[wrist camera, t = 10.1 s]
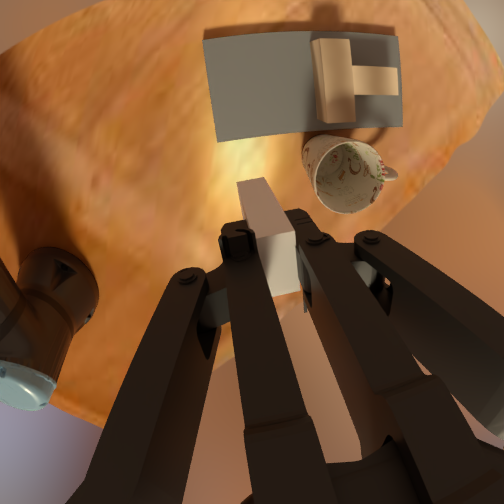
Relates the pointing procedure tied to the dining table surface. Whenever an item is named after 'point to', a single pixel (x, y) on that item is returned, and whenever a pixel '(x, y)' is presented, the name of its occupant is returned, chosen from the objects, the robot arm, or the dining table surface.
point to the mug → (345, 172)
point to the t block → (345, 80)
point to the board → (289, 83)
